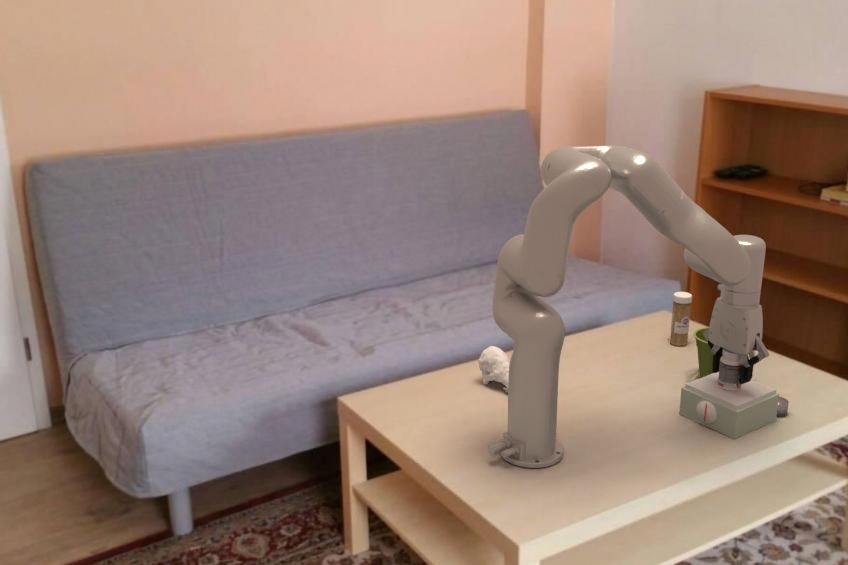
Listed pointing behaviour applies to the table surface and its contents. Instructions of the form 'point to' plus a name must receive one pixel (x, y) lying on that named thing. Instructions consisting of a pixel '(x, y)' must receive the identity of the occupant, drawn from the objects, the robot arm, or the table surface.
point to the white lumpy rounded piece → (494, 366)
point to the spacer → (782, 407)
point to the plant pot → (703, 353)
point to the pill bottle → (730, 370)
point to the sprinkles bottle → (680, 318)
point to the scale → (729, 405)
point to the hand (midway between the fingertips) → (731, 376)
